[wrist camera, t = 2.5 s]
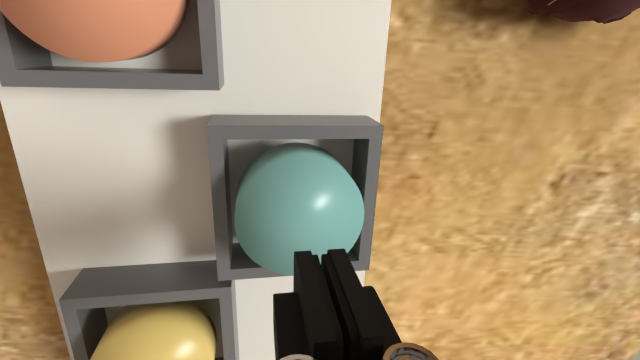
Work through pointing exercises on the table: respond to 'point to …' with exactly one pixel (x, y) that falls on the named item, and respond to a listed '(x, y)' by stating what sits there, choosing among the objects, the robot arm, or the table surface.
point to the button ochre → (159, 333)
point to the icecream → (584, 9)
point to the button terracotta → (98, 26)
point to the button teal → (296, 206)
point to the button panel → (188, 155)
